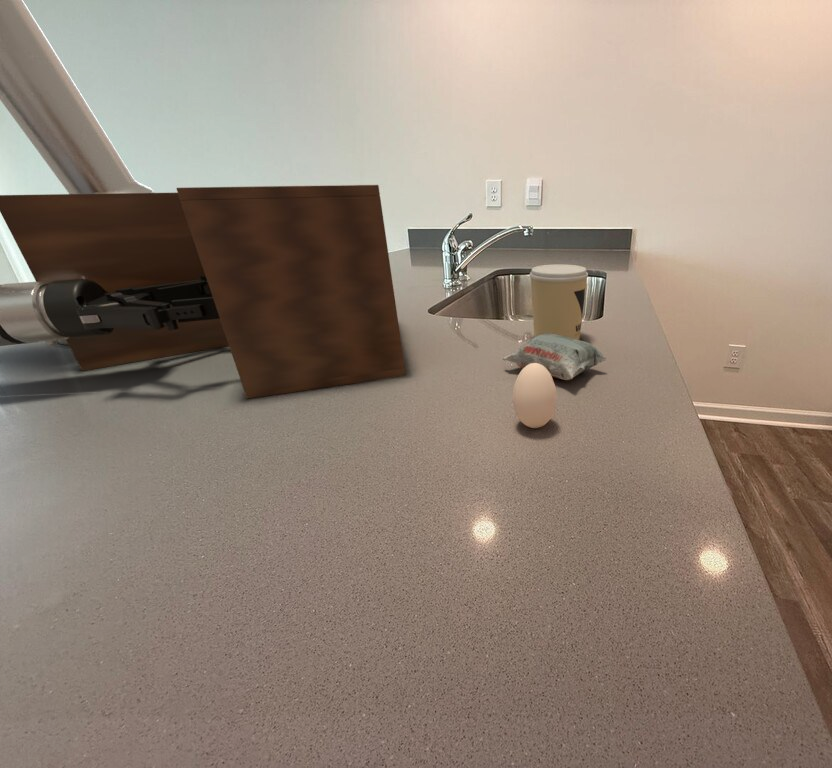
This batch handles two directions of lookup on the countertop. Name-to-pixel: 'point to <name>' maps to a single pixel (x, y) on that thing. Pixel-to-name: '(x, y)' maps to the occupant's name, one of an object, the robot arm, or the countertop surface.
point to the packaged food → (557, 355)
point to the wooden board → (299, 283)
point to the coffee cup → (558, 299)
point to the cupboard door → (114, 262)
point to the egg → (534, 396)
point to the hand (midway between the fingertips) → (247, 295)
